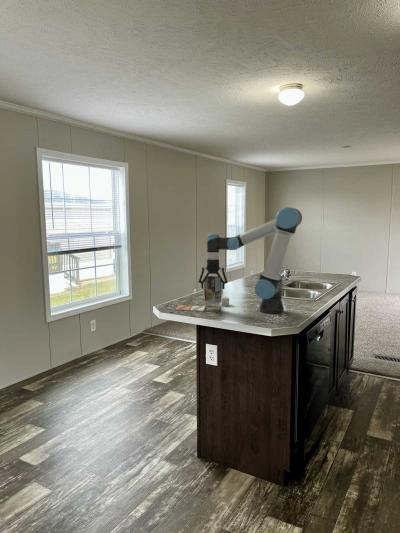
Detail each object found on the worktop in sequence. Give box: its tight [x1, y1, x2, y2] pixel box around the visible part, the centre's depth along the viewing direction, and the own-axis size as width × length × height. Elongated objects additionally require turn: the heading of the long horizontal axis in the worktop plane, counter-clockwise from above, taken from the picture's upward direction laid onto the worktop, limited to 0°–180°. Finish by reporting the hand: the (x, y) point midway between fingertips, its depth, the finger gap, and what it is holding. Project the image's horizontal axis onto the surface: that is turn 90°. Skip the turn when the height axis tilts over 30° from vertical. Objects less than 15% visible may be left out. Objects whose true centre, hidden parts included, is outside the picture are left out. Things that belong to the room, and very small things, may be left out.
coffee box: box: [203, 275, 222, 304], centre depth 241 cm, size 9×6×16 cm
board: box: [173, 304, 222, 313], centre depth 244 cm, size 28×14×1 cm, turn 83°
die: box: [219, 296, 230, 307], centre depth 256 cm, size 5×5×5 cm
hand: (212, 294), depth 242 cm, fingers closed on coffee box, 11 cm apart
